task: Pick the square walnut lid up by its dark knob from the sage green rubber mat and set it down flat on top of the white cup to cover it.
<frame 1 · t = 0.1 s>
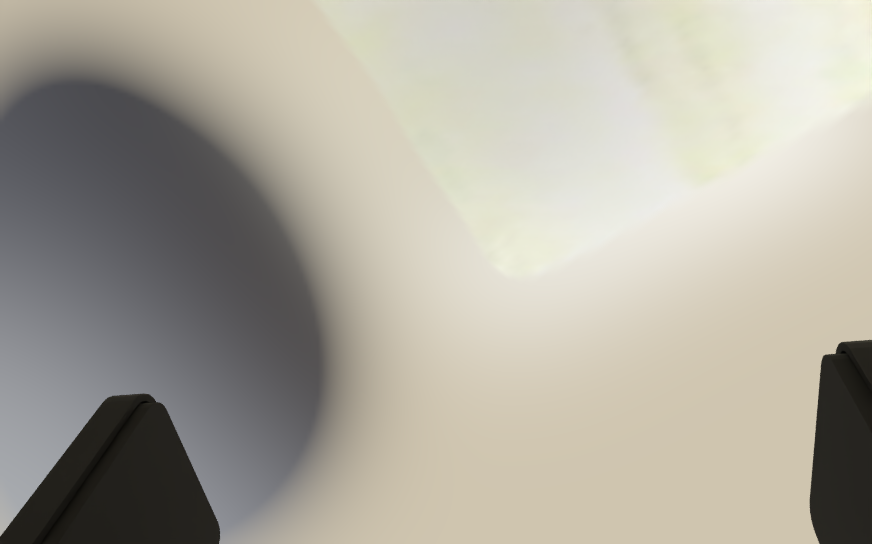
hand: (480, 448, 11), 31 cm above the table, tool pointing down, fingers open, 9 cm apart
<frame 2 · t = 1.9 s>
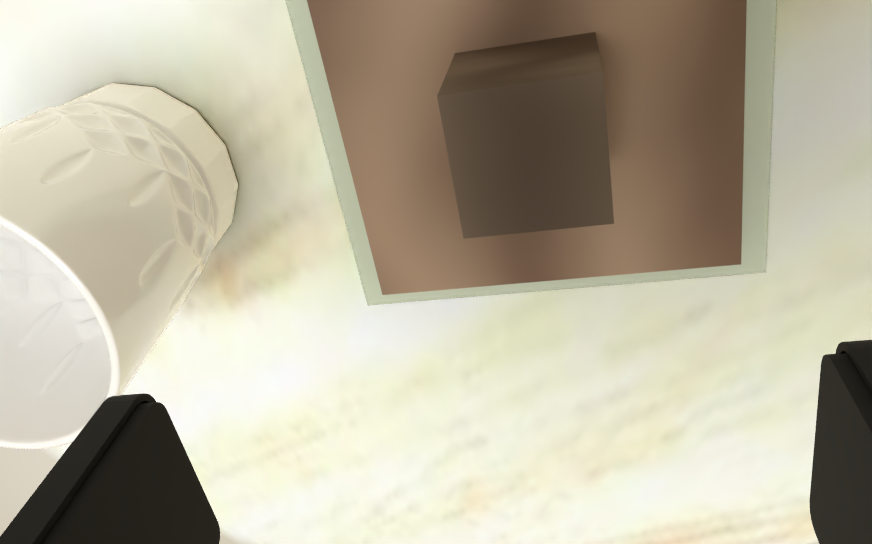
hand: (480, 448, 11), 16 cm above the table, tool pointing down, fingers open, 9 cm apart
mat: (533, 93, 24), on the table
white cup: (151, 170, 27), on the table
lid: (532, 99, 23), point 1 cm above the table, touching mat
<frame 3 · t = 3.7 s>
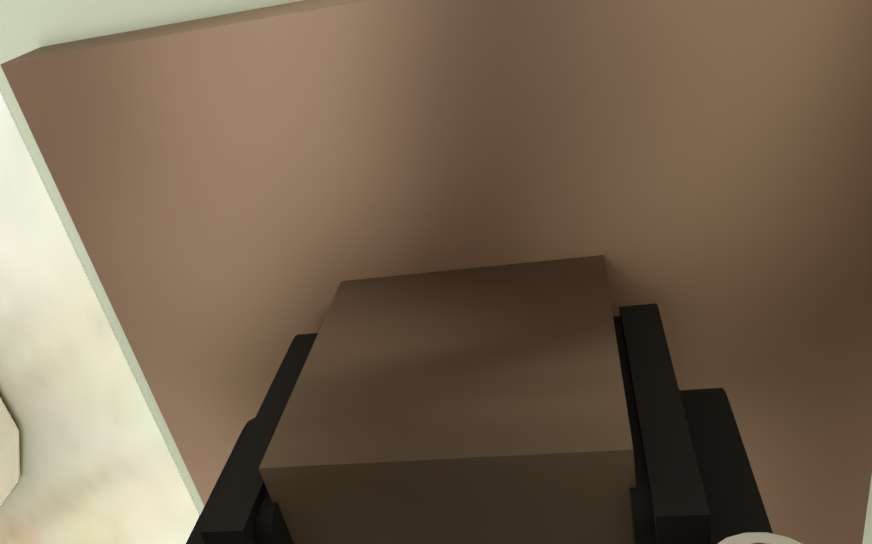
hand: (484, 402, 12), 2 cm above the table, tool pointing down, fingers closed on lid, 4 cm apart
mat: (492, 319, 14), on the table
lid: (490, 338, 13), point 1 cm above the table, touching gripper, mat
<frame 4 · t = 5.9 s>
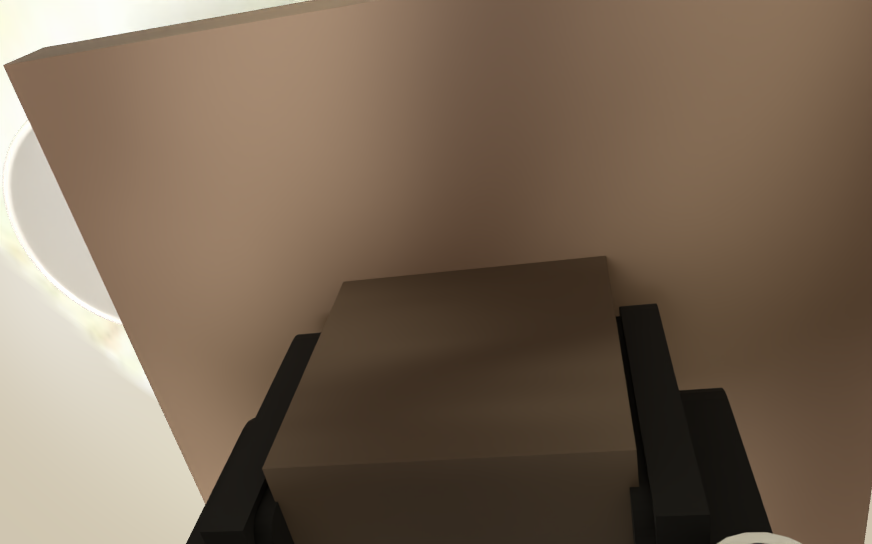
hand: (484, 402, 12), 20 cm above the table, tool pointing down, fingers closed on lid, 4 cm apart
white cup: (246, 113, 31), on the table
lid: (492, 339, 13), point 18 cm above the table, touching gripper
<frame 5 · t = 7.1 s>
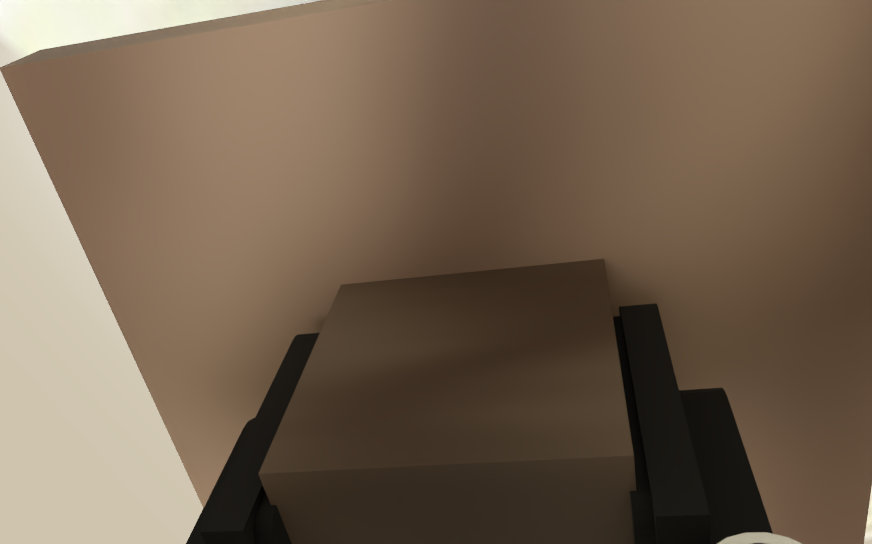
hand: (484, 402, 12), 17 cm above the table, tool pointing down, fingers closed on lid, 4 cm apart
lid: (490, 341, 13), point 16 cm above the table, touching gripper
when the fingers open (13 cm above the table, at t = 8.0 s): lid drops 2 cm, resting on white cup.
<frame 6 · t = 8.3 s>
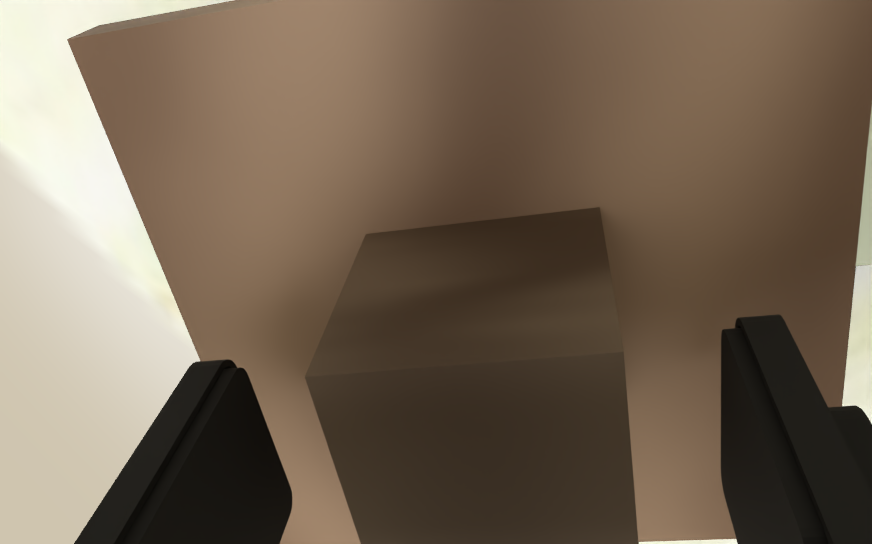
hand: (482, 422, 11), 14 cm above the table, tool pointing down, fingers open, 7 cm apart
lid: (498, 290, 14), point 10 cm above the table, touching white cup
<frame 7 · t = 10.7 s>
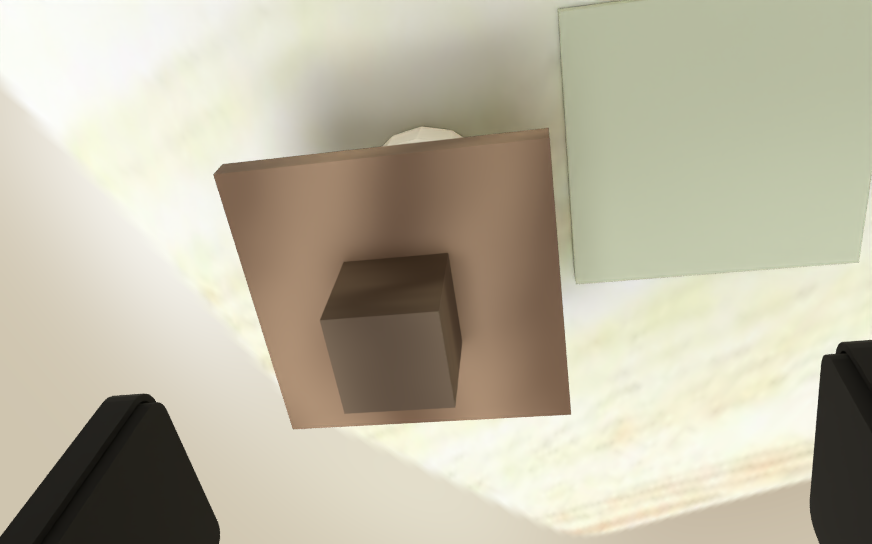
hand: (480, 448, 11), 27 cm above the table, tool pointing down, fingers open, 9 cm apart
mat: (715, 140, 36), on the table
white cup: (430, 186, 39), on the table, touching lid
lid: (407, 289, 30), point 10 cm above the table, touching white cup
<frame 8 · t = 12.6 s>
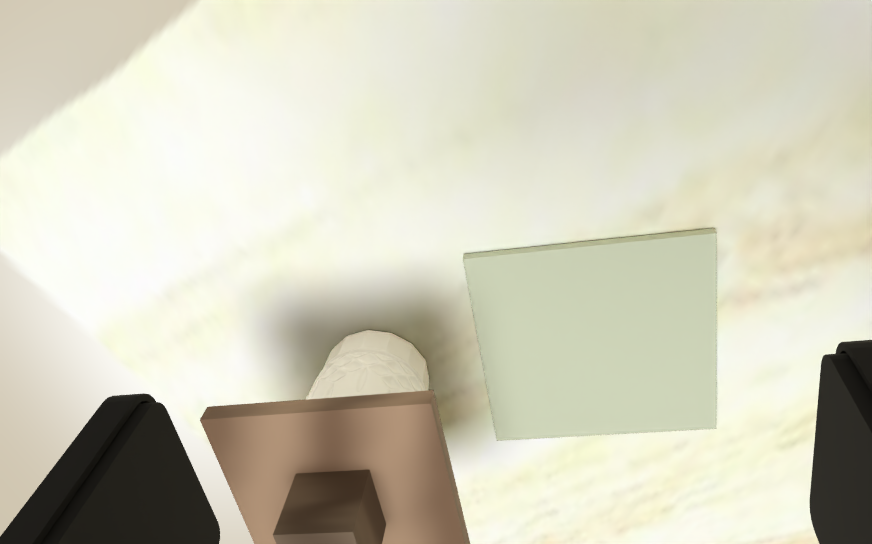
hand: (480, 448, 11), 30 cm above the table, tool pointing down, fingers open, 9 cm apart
mat: (594, 341, 46), on the table
white cup: (379, 369, 49), on the table, touching lid
lid: (345, 484, 41), point 10 cm above the table, touching white cup
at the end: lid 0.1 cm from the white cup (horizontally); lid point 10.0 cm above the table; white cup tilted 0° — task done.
